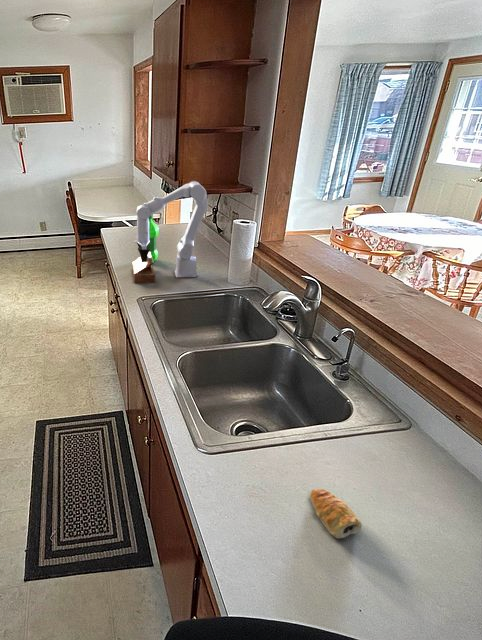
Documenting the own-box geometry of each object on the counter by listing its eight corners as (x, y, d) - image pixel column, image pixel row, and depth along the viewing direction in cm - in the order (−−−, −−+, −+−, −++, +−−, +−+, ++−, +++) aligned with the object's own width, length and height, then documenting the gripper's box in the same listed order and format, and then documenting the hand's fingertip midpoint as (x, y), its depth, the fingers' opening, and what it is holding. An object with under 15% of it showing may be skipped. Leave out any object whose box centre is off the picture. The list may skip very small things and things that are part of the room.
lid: (150, 251, 193) (145, 244, 192) (153, 263, 179) (148, 255, 177) (133, 262, 196) (127, 255, 194) (134, 275, 181) (129, 267, 180)
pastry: (300, 499, 81) (303, 486, 80) (326, 490, 83) (330, 477, 81) (335, 543, 73) (339, 530, 72) (364, 532, 75) (369, 518, 73)
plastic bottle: (136, 258, 211) (135, 213, 201) (154, 256, 214) (154, 211, 204) (143, 265, 202) (143, 218, 192) (162, 262, 205) (162, 215, 195)
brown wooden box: (151, 269, 197) (151, 262, 195) (154, 282, 183) (154, 274, 181) (132, 270, 197) (132, 263, 196) (134, 282, 183) (134, 275, 181)
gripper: (133, 227, 187) (134, 253, 193) (135, 236, 174) (135, 264, 180) (148, 226, 187) (148, 253, 193) (151, 235, 174) (151, 264, 180)
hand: (143, 258), depth 186 cm, fingers open, 7 cm apart
